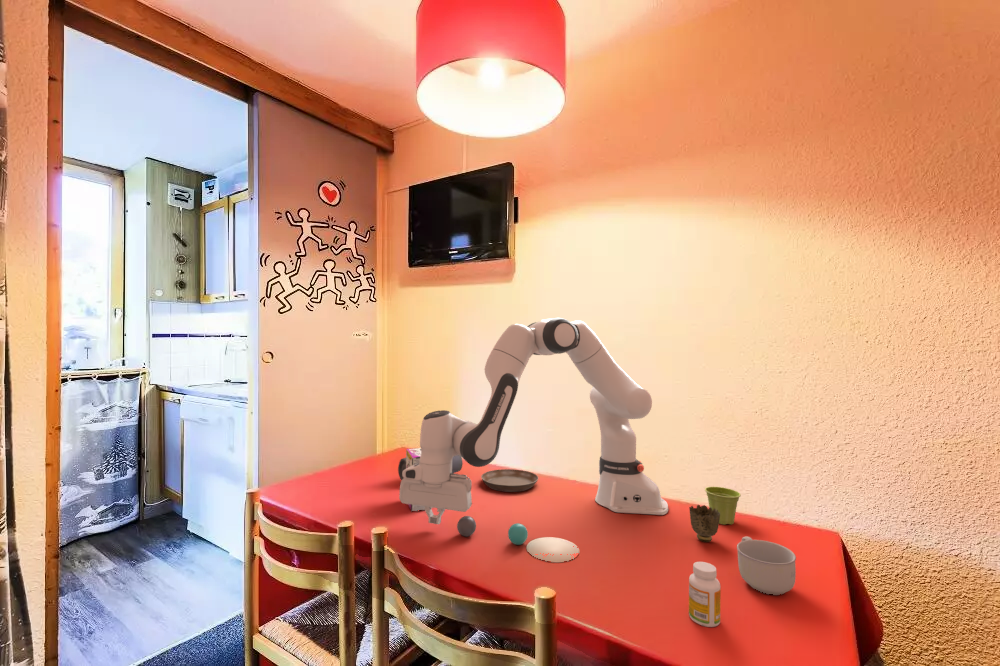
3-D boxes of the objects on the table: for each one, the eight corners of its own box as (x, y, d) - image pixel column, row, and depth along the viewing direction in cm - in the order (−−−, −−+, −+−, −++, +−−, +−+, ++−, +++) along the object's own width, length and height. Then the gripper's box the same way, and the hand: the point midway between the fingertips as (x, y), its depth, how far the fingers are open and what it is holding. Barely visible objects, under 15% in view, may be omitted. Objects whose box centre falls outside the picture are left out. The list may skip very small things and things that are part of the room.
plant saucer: (480, 476, 169) (480, 467, 169) (534, 476, 170) (534, 468, 170) (481, 495, 148) (481, 485, 148) (542, 495, 150) (542, 485, 150)
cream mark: (582, 542, 114) (582, 541, 114) (575, 566, 101) (575, 565, 101) (533, 534, 117) (533, 534, 117) (520, 557, 105) (520, 556, 105)
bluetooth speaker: (449, 471, 174) (450, 446, 174) (463, 477, 167) (463, 450, 167) (396, 482, 159) (397, 454, 160) (409, 489, 152) (409, 460, 153)
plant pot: (709, 512, 136) (709, 484, 136) (743, 520, 130) (743, 491, 130) (700, 521, 129) (701, 491, 129) (736, 530, 123) (736, 499, 123)
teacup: (805, 605, 88) (805, 564, 88) (746, 597, 90) (746, 558, 90) (776, 570, 101) (776, 535, 102) (725, 564, 104) (726, 530, 104)
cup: (702, 547, 112) (702, 516, 112) (682, 535, 119) (683, 505, 119) (726, 545, 114) (726, 513, 114) (706, 533, 121) (706, 503, 121)
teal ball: (529, 541, 114) (529, 521, 114) (524, 549, 109) (525, 529, 109) (510, 538, 115) (511, 519, 115) (505, 546, 110) (505, 526, 110)
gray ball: (478, 533, 118) (479, 514, 118) (471, 541, 113) (472, 521, 113) (461, 530, 119) (461, 511, 119) (453, 538, 114) (454, 518, 115)
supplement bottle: (711, 610, 85) (711, 559, 86) (726, 628, 80) (726, 573, 80) (683, 610, 85) (684, 559, 85) (697, 628, 80) (697, 573, 80)
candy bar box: (404, 499, 141) (405, 448, 142) (419, 498, 143) (421, 447, 144) (410, 512, 131) (412, 457, 131) (427, 510, 133) (428, 455, 133)
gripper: (475, 472, 119) (474, 523, 119) (408, 464, 125) (407, 513, 125) (467, 479, 113) (466, 533, 113) (397, 470, 119) (395, 522, 119)
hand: (434, 523), depth 119 cm, fingers closed
